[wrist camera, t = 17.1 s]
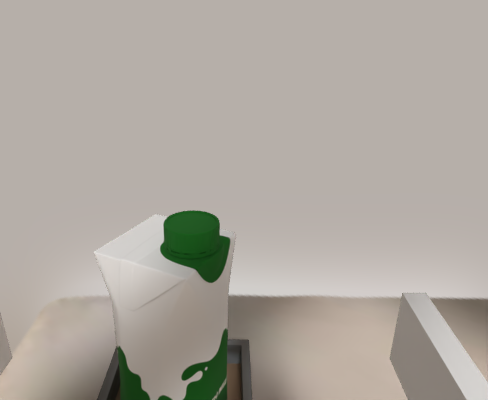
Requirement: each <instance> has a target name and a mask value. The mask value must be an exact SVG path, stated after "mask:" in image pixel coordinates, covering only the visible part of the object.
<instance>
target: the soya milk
mask: <svg viewBox="0 0 488 400" xmlns="http://www.w3.org/2000/svg"><path fill="white" fill-rule="evenodd" d="M235 239H236V233H235V232H232V231H228V230H224V229H220V224H219V220H218V218H217V217H216V216H215V215H213V214H210V213H207V212H202V211H183V212H179V213H175V214H173V215H170V216H169V217H166V216H162V215H158V214H155V215H153V216H152V217H150V218H148V219H147V220H145V221H143V222H142V223H140V224H138V225H137V226H135V227H134V228H132V229H130V230H129V231H127V232H125V233H124V234H122V235H120V236H119V237H117V238H115V239H114V240H112V241H110V242H109V243H107V244H105V245H104V246H102V247H101V248H99V249H97V250H96V251H94V255H95V257H96V260H97V263H98V265H99V268H100V270H101V273H102V276H103V278H104V281H105V284H106V286H107V289H108V291H109V294H110V297H111V301H112V308H113V317H114V325H115V334H116V343H117V352H118V361H119V370H120V400H227V341H228V291H229V281H230V274H231V266H232V259H233V252H234V245H235Z"/></svg>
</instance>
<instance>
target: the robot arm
mask: <svg viewBox="0 0 488 400" xmlns="http://www.w3.org/2000/svg"><path fill="white" fill-rule="evenodd" d="M11 359H12V354H11V351H10V347H9V343H8V339H7V336H6V332H5V329H4V325H3V322H2V318H1V314H0V375H1V373H2V372H3V370H4V369H5V368H6V366H7V365H8V363H9V362H10V360H11ZM390 360H391V362H392V365H393V367H394V369H395V371H396V374H397V376H398V378H399V380H400V383H401V385H402V387H403V389H404V392H405V394H406V396H407V398H408V400H488V382H487V381H486V379H485V378H484V376H483V375H482V374H481V372H480V371H479V369H478V368H477V366H476V365H475V363H474V362H473V360H472V359H471V358H470V356H469V355H468V353H467V352H466V350H465V349H464V347H463V346H462V344H461V343H460V342H459V340H458V339H457V337H456V336H455V334H454V333H453V331H452V330H451V329H450V327H449V326H448V324H447V323H446V321H445V320H444V318H443V317H442V315H441V314H440V313H439V311H438V310H437V308H436V307H435V305H434V304H433V302H432V301H431V299H430V298H429V297H428V295H427V294H426V293H402V298H401V303H400V308H399V313H398V319H397V324H396V329H395V334H394V339H393V344H392V349H391V354H390Z"/></svg>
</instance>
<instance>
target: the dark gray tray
mask: <svg viewBox="0 0 488 400" xmlns="http://www.w3.org/2000/svg"><path fill="white" fill-rule="evenodd" d="M97 400H120V370H119V361H118V352H117V347H116V349H115V352H114V355H113V358H112V360H111V363H110V366H109V369H108V371H107V374H106V377H105V380H104V382H103V385H102V388H101V391H100V393H99V396H98V399H97ZM227 400H252V388H251V369H250V352H249V340H228V341H227Z"/></svg>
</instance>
